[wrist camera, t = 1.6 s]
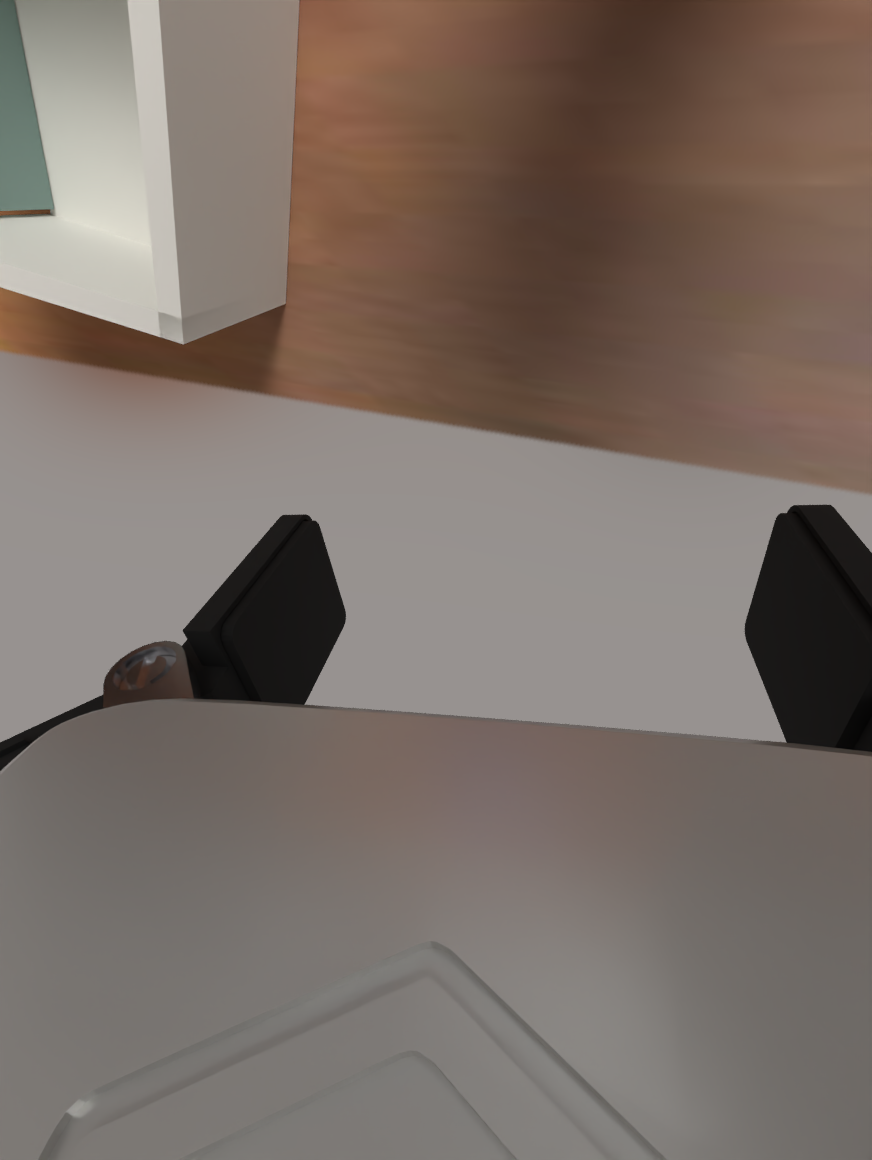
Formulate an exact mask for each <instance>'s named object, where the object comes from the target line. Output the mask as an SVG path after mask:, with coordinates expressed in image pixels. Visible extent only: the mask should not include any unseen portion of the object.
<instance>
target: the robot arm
mask: <svg viewBox="0 0 872 1160" xmlns="http://www.w3.org/2000/svg"><path fill="white" fill-rule="evenodd" d="M345 620H346V612H345V608H344V605H343V601H342V598H341V595H340V592H339V588H338V585H337V582H336V579H335V575H334V572H333V569H332V565H331V562H330V559H329V556H328V552H327V549H326V546H325V542H324V539H323V536H322V533H321V529H320V526H319V524H318V523H317V522H316V521H312V519H311V518H310V516H308V515H282V516H281V517H280V518H279V519H278V520H277V521H276V523H275V524H274V525H273V526H272V527H271V528H270V530H269V531H268V532H267V533H266V534H265V535H264V537H263V538H262V539H261V540H260V541H259V543H258V544H257V545H256V546H255V547H254V548H253V549H252V550H251V552H250V553H249V554H248V555H247V556H246V557H245V559H244V560H243V561H242V562H241V563H240V564H239V566H238V567H237V568H236V569H235V570H234V572H233V573H232V574H231V575H230V576H229V577H228V578H227V580H226V581H225V582H224V583H223V584H222V585H221V587H220V588H219V589H218V590H217V591H216V592H215V594H214V595H213V596H212V597H211V598H210V599H209V600H208V602H207V603H206V604H205V605H204V606H203V607H202V609H201V610H200V611H199V612H198V613H197V614H196V616H195V617H194V618H193V619H192V620H191V621H190V623H189V624H188V625H187V626H186V627H185V628H184V629H183V632H184V634H185V636H186V637H187V641H186V642H185V643H184V644H183V645H182V646H181V645H179V644H178V643H176V642H171V641H162V642H154V643H151V644H148V645H144V646H142V647H140V648H138V649H136V650H134V651H131V652H130V653H128V654H127V655H126V656H124V657H123V658H121V659H120V660H119V661H118V662H117V663H116V664H115V665H114V666H113V667H112V668H111V669H110V671H109V672H108V673H107V675H106V677H105V680H104V685H103V695H102V696H99V697H97V698H95V699H93V700H91V701H89V702H86V703H85V704H82V705H80V706H78V707H76V708H74V709H72V710H69V711H67V712H65V713H63V714H61V715H58V716H56V717H54V718H52V719H50V720H48V721H46V722H43V723H41V724H39V725H37V726H35V727H33V728H31V729H28V730H26V731H24V732H22V733H20V734H18V735H15V736H13V737H12V738H10V739H7V740H5V741H2V742H0V1160H872V553H871V552H870V551H869V549H868V548H867V547H866V546H865V544H864V543H863V542H862V541H861V540H860V538H859V537H858V536H857V535H856V534H855V533H854V531H853V530H852V529H851V528H850V526H849V525H848V524H847V523H846V522H845V520H844V519H843V518H842V517H841V516H840V514H839V513H838V512H837V511H836V510H835V508H834V507H832V506H831V505H794V506H792V507H791V508H790V509H789V510H788V512H787V513H781V514H779V515H778V516H777V518H776V520H775V523H774V527H773V530H772V534H771V537H770V540H769V544H768V547H767V551H766V554H765V557H764V561H763V564H762V568H761V571H760V575H759V578H758V581H757V585H756V588H755V592H754V595H753V598H752V602H751V605H750V609H749V612H748V616H747V619H746V623H745V636H746V641H747V643H748V646H749V648H750V651H751V653H752V656H753V658H754V661H755V663H756V666H757V668H758V671H759V673H760V676H761V679H762V681H763V684H764V686H765V689H766V691H767V694H768V696H769V699H770V701H771V704H772V706H773V709H774V711H775V714H776V716H777V719H778V722H779V724H780V727H781V729H782V732H783V734H784V737H785V739H786V742H787V743H784V742H771V741H758V740H748V739H738V738H726V737H716V736H703V735H691V734H679V733H667V732H654V731H642V730H630V729H617V728H605V727H593V726H581V725H569V724H556V723H544V722H543V723H542V722H531V721H518V720H505V719H492V718H479V717H466V716H453V715H439V714H426V713H413V712H399V711H385V710H371V709H356V708H343V707H329V706H315V705H304V704H305V702H306V700H307V699H308V697H309V695H310V693H311V691H312V688H313V686H314V684H315V683H316V681H317V679H318V676H319V675H320V673H321V671H322V669H323V667H324V665H325V663H326V661H327V659H328V657H329V655H330V653H331V651H332V649H333V647H334V645H335V643H336V641H337V639H338V637H339V635H340V633H341V631H342V629H343V627H344V624H345Z"/></svg>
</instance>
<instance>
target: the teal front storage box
mask: <svg viewBox="0 0 872 1160" xmlns="http://www.w3.org/2000/svg"><path fill="white" fill-rule="evenodd" d="M14 3H15V8H16V13H17V19H18V24H19V29H20V34H21V39H22V45H23V50H24V55H25V60H26V65H27V70H28V76H29V81H30V86H31V91H32V96H33V102H34V107H35V112H36V117H37V122H38V127H39V133H40V138H41V143H42V148H43V153H44V159H45V164H46V169H47V174H48V179H49V184H50V190H51V195H52V200H53V205H54V209H50V212H51V214H29V215H4V216H0V287H1V288H5V289H8V290H11V291H14V292H17V293H21V294H24V295H27V296H30V297H33V298H36V299H40V300H43V301H46V302H49V303H52V304H56V305H59V306H62V307H65V308H68V309H72V310H75V311H78V312H81V313H84V314H88V315H91V316H94V317H97V318H100V319H104V320H107V321H110V322H113V323H116V324H120V325H123V326H126V327H129V328H132V329H136V330H139V331H142V332H145V333H148V334H152V335H155V336H158V337H161V338H164V339H168V340H171V341H174V342H177V343H180V344H186V343H188V342H191V341H193V340H196V339H198V338H201V337H203V336H206V335H208V334H211V333H214V332H216V331H219V330H221V329H224V328H226V327H229V326H231V325H234V324H236V323H239V322H241V321H244V320H246V319H249V318H251V317H254V316H256V315H259V314H261V313H264V312H266V311H269V310H271V309H274V308H276V307H279V306H281V305H284V304H286V287H287V265H288V243H289V221H290V199H291V177H292V154H293V132H294V110H295V88H296V66H297V44H298V22H299V0H14Z"/></svg>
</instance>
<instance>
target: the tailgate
mask: <svg viewBox="0 0 872 1160" xmlns="http://www.w3.org/2000/svg"><path fill="white" fill-rule="evenodd" d="M43 209H54V205H53V200H52V195H51V190H50V184H49V179H48V174H47V169H46V164H45V159H44V153H43V148H42V143H41V138H40V133H39V127H38V122H37V117H36V112H35V107H34V102H33V96H32V91H31V86H30V81H29V76H28V70H27V65H26V60H25V55H24V50H23V45H22V39H21V34H20V29H19V24H18V19H17V13H16V8H15V3H14V0H0V211H11V210H43Z"/></svg>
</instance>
